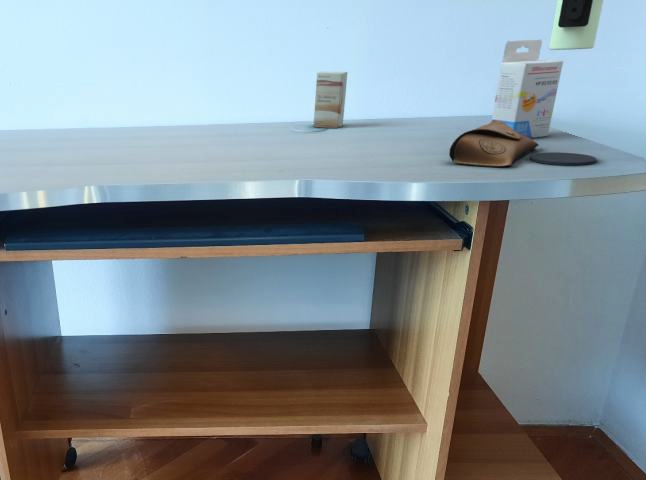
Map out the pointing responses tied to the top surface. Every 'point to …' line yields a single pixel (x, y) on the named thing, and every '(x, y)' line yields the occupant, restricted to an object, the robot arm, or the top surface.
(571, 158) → the coaster
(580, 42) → the candle
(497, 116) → the ink box
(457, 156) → the sunglasses case
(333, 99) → the cream medicine box
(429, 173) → the top surface
